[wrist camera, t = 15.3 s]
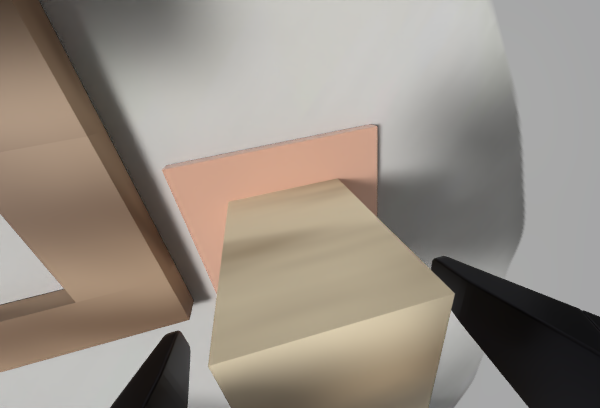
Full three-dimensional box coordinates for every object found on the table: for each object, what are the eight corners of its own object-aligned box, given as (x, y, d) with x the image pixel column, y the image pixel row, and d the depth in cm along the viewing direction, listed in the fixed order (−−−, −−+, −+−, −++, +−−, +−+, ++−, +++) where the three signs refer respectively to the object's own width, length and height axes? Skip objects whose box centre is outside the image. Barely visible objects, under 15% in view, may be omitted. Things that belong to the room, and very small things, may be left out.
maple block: (343, 261, 13) (427, 410, 7) (254, 284, 13) (264, 468, 7) (337, 178, 11) (455, 294, 5) (228, 201, 10) (207, 366, 4)
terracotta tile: (372, 271, 15) (377, 278, 15) (228, 311, 14) (228, 320, 14) (370, 124, 11) (377, 126, 10) (166, 165, 10) (161, 170, 9)
